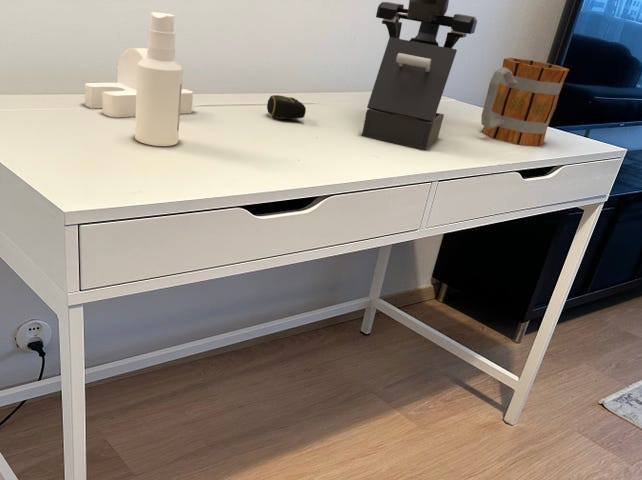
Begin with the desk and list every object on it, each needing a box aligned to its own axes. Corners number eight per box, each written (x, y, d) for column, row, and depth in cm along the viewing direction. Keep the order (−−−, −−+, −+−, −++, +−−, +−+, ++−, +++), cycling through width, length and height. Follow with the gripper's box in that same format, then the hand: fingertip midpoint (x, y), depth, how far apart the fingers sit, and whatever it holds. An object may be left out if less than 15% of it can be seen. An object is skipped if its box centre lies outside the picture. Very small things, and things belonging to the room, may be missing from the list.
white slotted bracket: (194, 112, 125) (198, 54, 119) (111, 117, 113) (112, 53, 108) (163, 100, 130) (166, 44, 125) (82, 104, 119) (82, 42, 114)
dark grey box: (378, 125, 137) (383, 101, 135) (437, 138, 134) (444, 114, 131) (361, 135, 127) (366, 109, 124) (425, 150, 123) (432, 124, 121)
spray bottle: (184, 141, 107) (193, 17, 97) (166, 149, 101) (174, 19, 92) (146, 132, 108) (152, 9, 99) (126, 140, 103) (130, 10, 93)
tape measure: (304, 123, 130) (308, 103, 128) (272, 121, 127) (275, 101, 125) (292, 115, 135) (295, 95, 133) (261, 112, 133) (264, 93, 131)
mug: (506, 128, 153) (528, 58, 145) (556, 144, 144) (583, 71, 137) (451, 130, 143) (472, 55, 135) (501, 148, 134) (527, 69, 126)
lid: (389, 38, 123) (387, 27, 119) (456, 51, 120) (456, 40, 116) (367, 108, 125) (364, 99, 120) (433, 122, 121) (432, 114, 117)
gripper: (378, -33, 121) (360, 59, 129) (480, -17, 116) (454, 78, 124) (392, -31, 130) (374, 55, 138) (487, -16, 125) (463, 73, 133)
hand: (415, 65), depth 133 cm, fingers open, 9 cm apart
